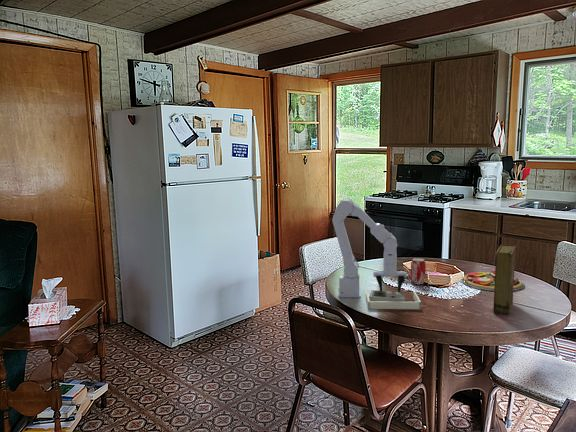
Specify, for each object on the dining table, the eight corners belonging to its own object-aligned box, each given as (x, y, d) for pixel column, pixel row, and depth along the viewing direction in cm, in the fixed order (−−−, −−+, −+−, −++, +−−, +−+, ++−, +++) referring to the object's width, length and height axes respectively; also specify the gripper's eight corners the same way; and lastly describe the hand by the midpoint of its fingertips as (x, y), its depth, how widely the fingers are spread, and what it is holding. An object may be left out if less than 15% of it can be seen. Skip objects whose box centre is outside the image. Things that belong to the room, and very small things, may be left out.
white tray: (368, 308, 184) (368, 301, 183) (365, 297, 197) (365, 291, 196) (421, 309, 181) (421, 302, 181) (415, 298, 195) (415, 291, 194)
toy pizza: (507, 274, 226) (507, 266, 225) (536, 292, 199) (536, 283, 198) (452, 276, 227) (453, 267, 226) (474, 293, 199) (474, 284, 199)
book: (498, 301, 188) (501, 244, 184) (512, 303, 185) (516, 245, 182) (493, 313, 175) (496, 252, 171) (508, 316, 172) (511, 253, 168)
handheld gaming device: (403, 307, 185) (404, 298, 185) (368, 304, 190) (368, 295, 189) (405, 300, 194) (405, 292, 193) (371, 297, 198) (371, 289, 198)
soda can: (426, 285, 211) (426, 261, 209) (411, 285, 213) (411, 261, 211) (424, 281, 218) (425, 257, 216) (410, 280, 220) (410, 257, 218)
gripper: (405, 260, 199) (404, 289, 201) (372, 260, 200) (372, 289, 202) (407, 264, 192) (407, 294, 194) (374, 264, 193) (374, 294, 195)
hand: (389, 292), depth 197 cm, fingers open, 7 cm apart
